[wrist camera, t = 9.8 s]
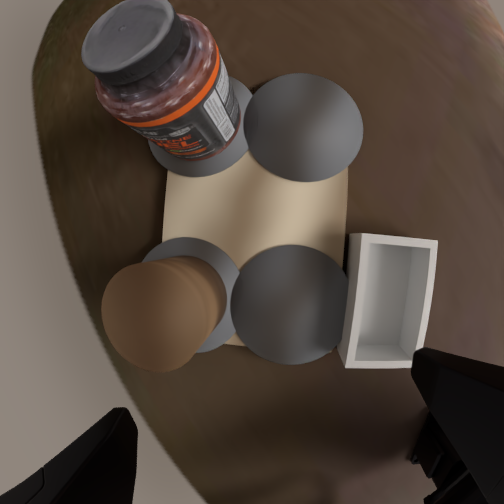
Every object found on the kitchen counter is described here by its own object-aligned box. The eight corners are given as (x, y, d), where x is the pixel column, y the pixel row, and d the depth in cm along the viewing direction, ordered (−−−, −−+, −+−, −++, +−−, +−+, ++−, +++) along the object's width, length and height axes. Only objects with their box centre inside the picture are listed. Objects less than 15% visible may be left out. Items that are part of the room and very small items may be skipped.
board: (357, 86, 19) (381, 31, 12) (341, 361, 20) (362, 413, 13) (162, 84, 21) (120, 38, 13) (141, 338, 22) (90, 373, 15)
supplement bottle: (153, 162, 20) (41, 105, 9) (169, 86, 19) (88, -4, 8) (237, 167, 19) (175, 87, 8) (248, 86, 19) (212, -31, 7)
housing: (415, 239, 19) (437, 240, 16) (400, 349, 20) (418, 367, 16) (349, 233, 20) (362, 233, 16) (336, 348, 20) (344, 367, 17)
